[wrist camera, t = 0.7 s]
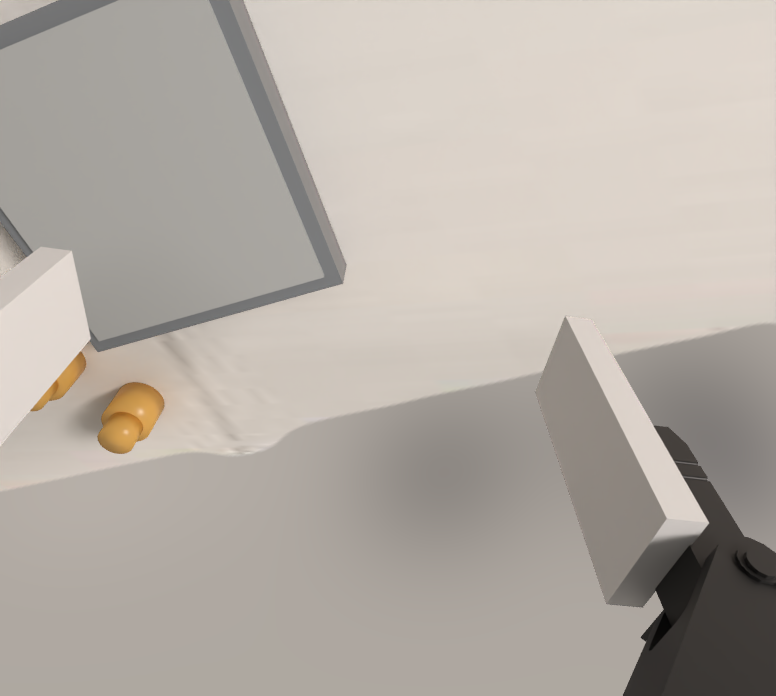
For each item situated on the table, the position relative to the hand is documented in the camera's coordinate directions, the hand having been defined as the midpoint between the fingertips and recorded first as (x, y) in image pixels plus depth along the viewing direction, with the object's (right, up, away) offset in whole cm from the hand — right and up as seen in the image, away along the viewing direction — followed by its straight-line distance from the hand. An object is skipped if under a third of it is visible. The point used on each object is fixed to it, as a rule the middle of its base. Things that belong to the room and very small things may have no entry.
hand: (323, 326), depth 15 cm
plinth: (-14, +11, +21) cm, 28 cm away
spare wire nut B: (-20, -5, +32) cm, 39 cm away
